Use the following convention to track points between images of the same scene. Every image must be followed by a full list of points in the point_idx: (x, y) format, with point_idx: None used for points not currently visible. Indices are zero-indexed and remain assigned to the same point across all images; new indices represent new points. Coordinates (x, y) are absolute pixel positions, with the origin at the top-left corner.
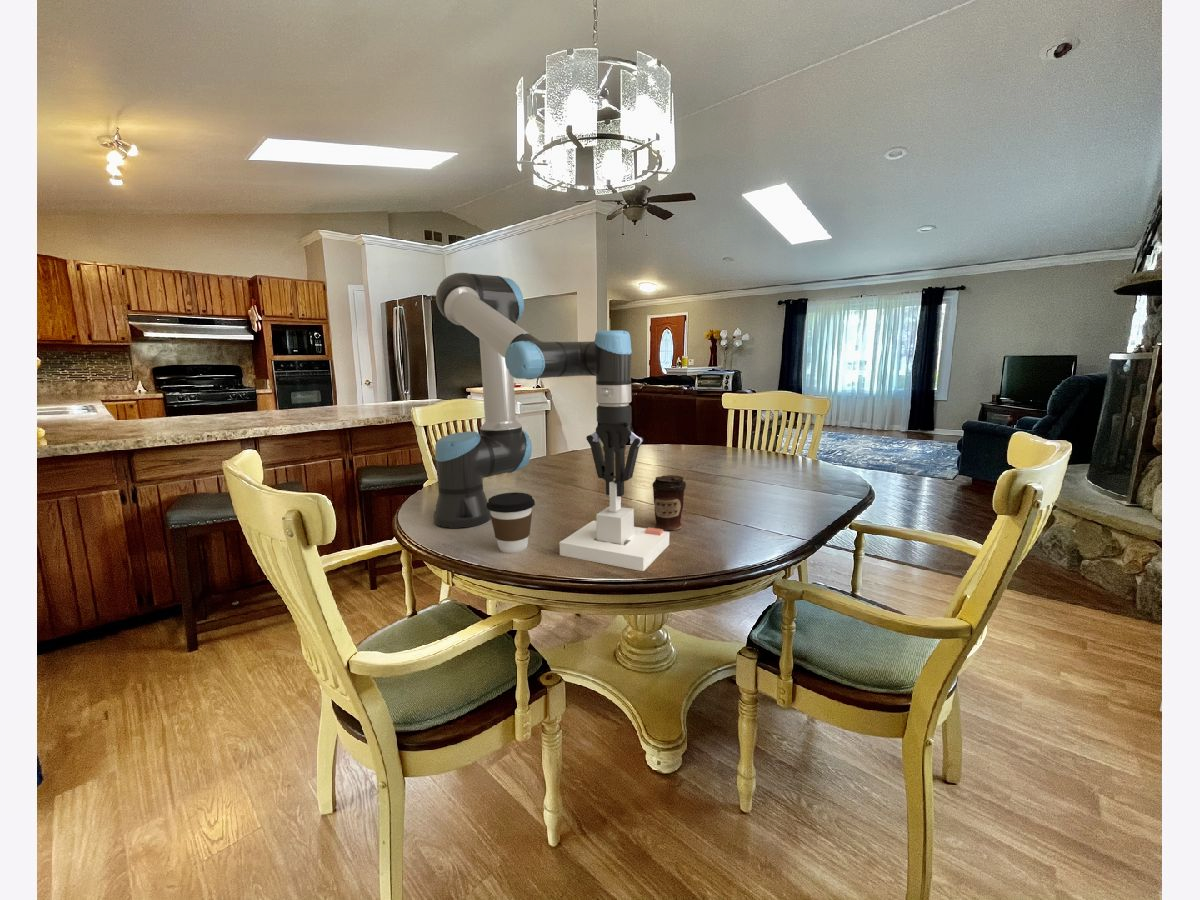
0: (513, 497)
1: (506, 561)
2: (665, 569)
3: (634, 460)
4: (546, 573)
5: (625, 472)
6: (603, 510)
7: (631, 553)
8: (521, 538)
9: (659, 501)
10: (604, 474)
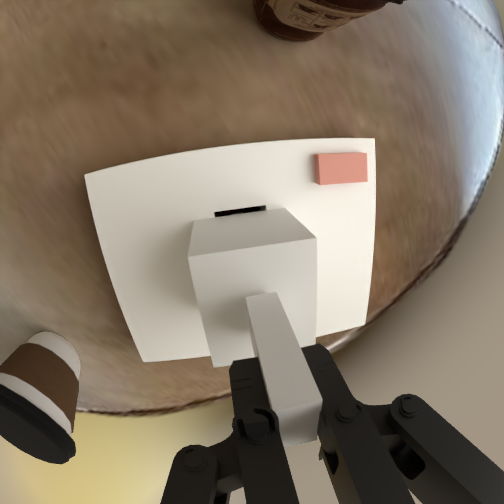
0: (14, 429)
1: (102, 392)
2: (385, 275)
3: (484, 483)
4: (193, 396)
5: (402, 470)
6: (206, 323)
7: (335, 323)
8: (78, 385)
9: (318, 8)
10: (238, 486)
